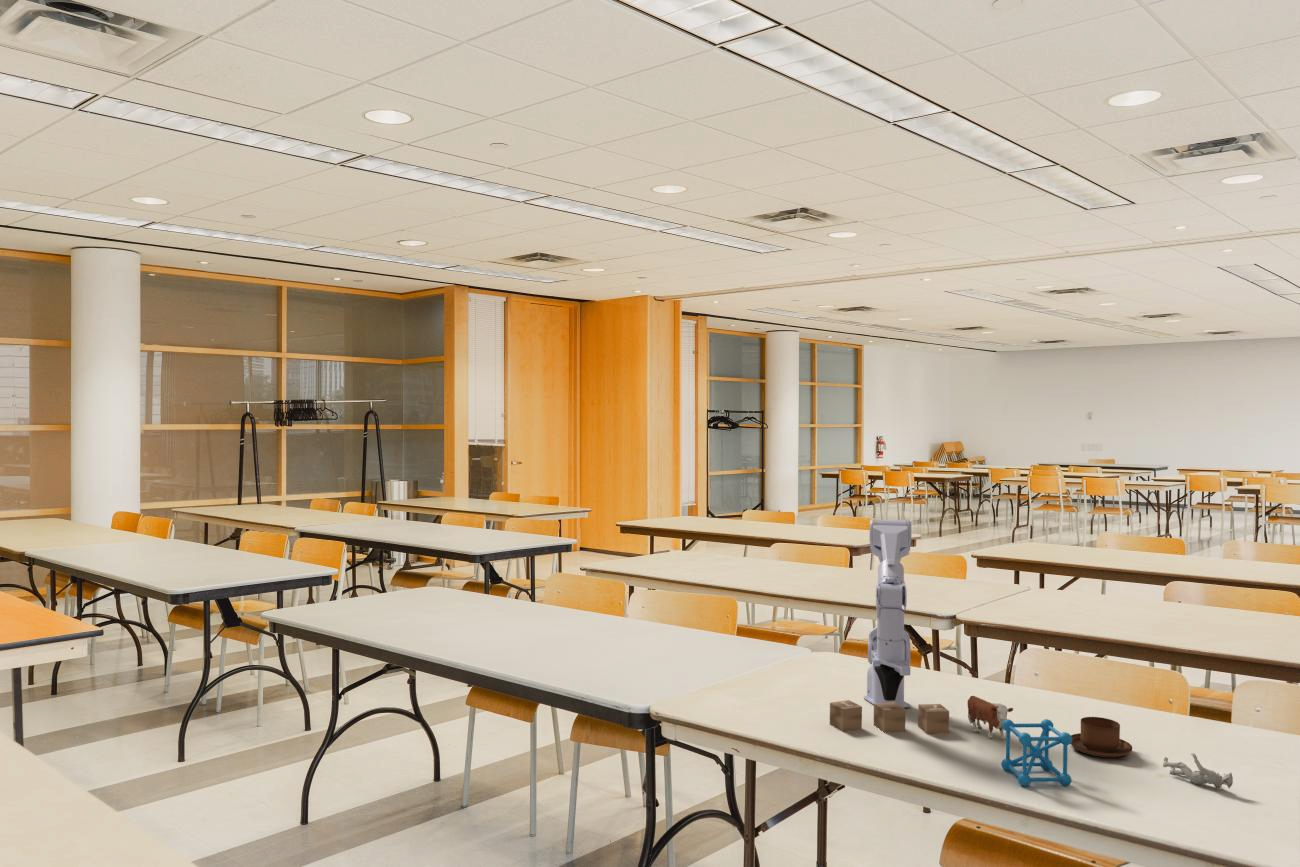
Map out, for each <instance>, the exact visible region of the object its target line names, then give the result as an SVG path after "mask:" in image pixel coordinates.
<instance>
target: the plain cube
mask: <svg viewBox="0 0 1300 867" xmlns="http://www.w3.org/2000/svg"><path fill="white" fill-rule="evenodd" d="M873 726H874V727H875V726H876V727H875V728H877V729H878V728H879V729H880V730H879V729H878V730H879V731H881V732H882V731H883V732H882V733H883V734H885V732H888V733H899V732H900V733H901V731H902V732H906V708H903V707H902V706H900V705H898V704H897V703H895V702H888V703H874V705H873Z"/></svg>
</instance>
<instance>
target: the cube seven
mask: <svg viewBox="0 0 1300 867" xmlns="http://www.w3.org/2000/svg"><path fill="white" fill-rule="evenodd" d="M917 706H918V707H917V727H918V728H919V729H920V730H921V729H922V731H923V733H925V734H926V735H940V734H939V733H949V734H950V710H948V709H947V708H946V707H945V706H943V705H942V704H941V703H928V704H927V703H926V704H925V703H924V704H923V703H922V704H918V705H917Z"/></svg>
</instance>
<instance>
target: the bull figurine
mask: <svg viewBox="0 0 1300 867" xmlns="http://www.w3.org/2000/svg"><path fill="white" fill-rule="evenodd" d="M1013 711H1014V708H1013V707H1008V708H1007V706H1006V705H1004V704H1001V703H995V702H993V703H992V702H989V701H986V700H985V699H982V698H980V697H978V696H975V695H971V696H970V697H969V698H968V699H967V712H968V713H967V718H968V721H969V723H970V725H971V724H972V730H973V732H974V733H976V734H977V733H979V729H983V727H982V725H981V723H980V721H981V722H983V725H986V724H988V730H989V732H988V734H987V737H988V739H989V740H994V736H993V731H994V728H995V729H996V730H999V732H1000V736H999V737H1000V739H1001V740H1002V741H1006V735H1005V733H1004V731H1005V730H1004V729H1003V728H1002V722H1003V721H1004V720H1006V719H1008V713H1011V712H1013Z"/></svg>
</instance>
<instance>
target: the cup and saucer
mask: <svg viewBox="0 0 1300 867" xmlns="http://www.w3.org/2000/svg"><path fill="white" fill-rule="evenodd" d="M1120 730H1121V725H1120V723H1119V722H1117V721H1116V720H1113V719H1111V718H1106V717H1098V716H1085V717H1082V718H1081V719H1080V732H1079V733H1075V734H1074V733H1073V734H1070V735H1071V737H1072V743H1071V744H1070V745H1071V747H1073V748H1074V749H1075V750H1077V751H1079V752H1081V753H1083V754H1087V755H1090V756H1093V757H1101V758H1111V759H1112V758H1121V757H1125V756H1127V755H1129V754H1130V753H1131V752H1132V751H1133V745H1132V744H1131V743H1129V742H1128V741H1126V740H1124V739H1122V738H1121V737H1120V736H1121V734H1120V733H1121V732H1120Z"/></svg>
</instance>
